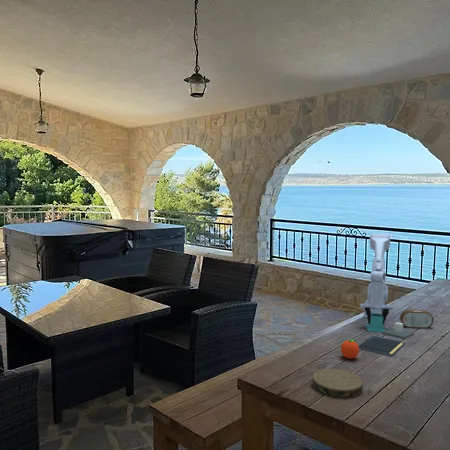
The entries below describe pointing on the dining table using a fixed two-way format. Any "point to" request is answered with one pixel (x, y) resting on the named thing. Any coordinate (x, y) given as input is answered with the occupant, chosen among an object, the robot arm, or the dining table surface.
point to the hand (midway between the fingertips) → (375, 324)
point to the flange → (375, 323)
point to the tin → (416, 318)
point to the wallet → (381, 346)
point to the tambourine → (337, 383)
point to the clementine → (350, 349)
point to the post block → (398, 331)
